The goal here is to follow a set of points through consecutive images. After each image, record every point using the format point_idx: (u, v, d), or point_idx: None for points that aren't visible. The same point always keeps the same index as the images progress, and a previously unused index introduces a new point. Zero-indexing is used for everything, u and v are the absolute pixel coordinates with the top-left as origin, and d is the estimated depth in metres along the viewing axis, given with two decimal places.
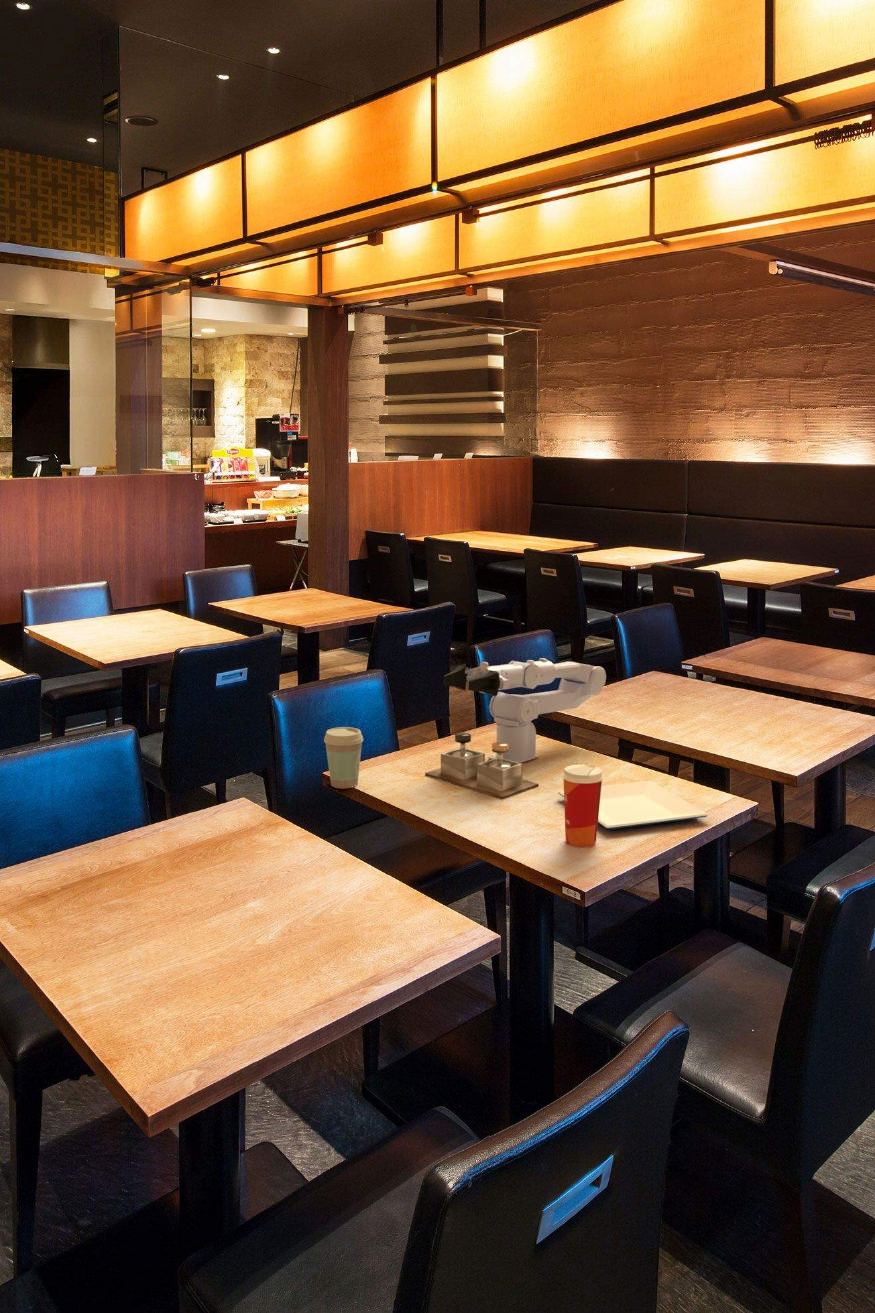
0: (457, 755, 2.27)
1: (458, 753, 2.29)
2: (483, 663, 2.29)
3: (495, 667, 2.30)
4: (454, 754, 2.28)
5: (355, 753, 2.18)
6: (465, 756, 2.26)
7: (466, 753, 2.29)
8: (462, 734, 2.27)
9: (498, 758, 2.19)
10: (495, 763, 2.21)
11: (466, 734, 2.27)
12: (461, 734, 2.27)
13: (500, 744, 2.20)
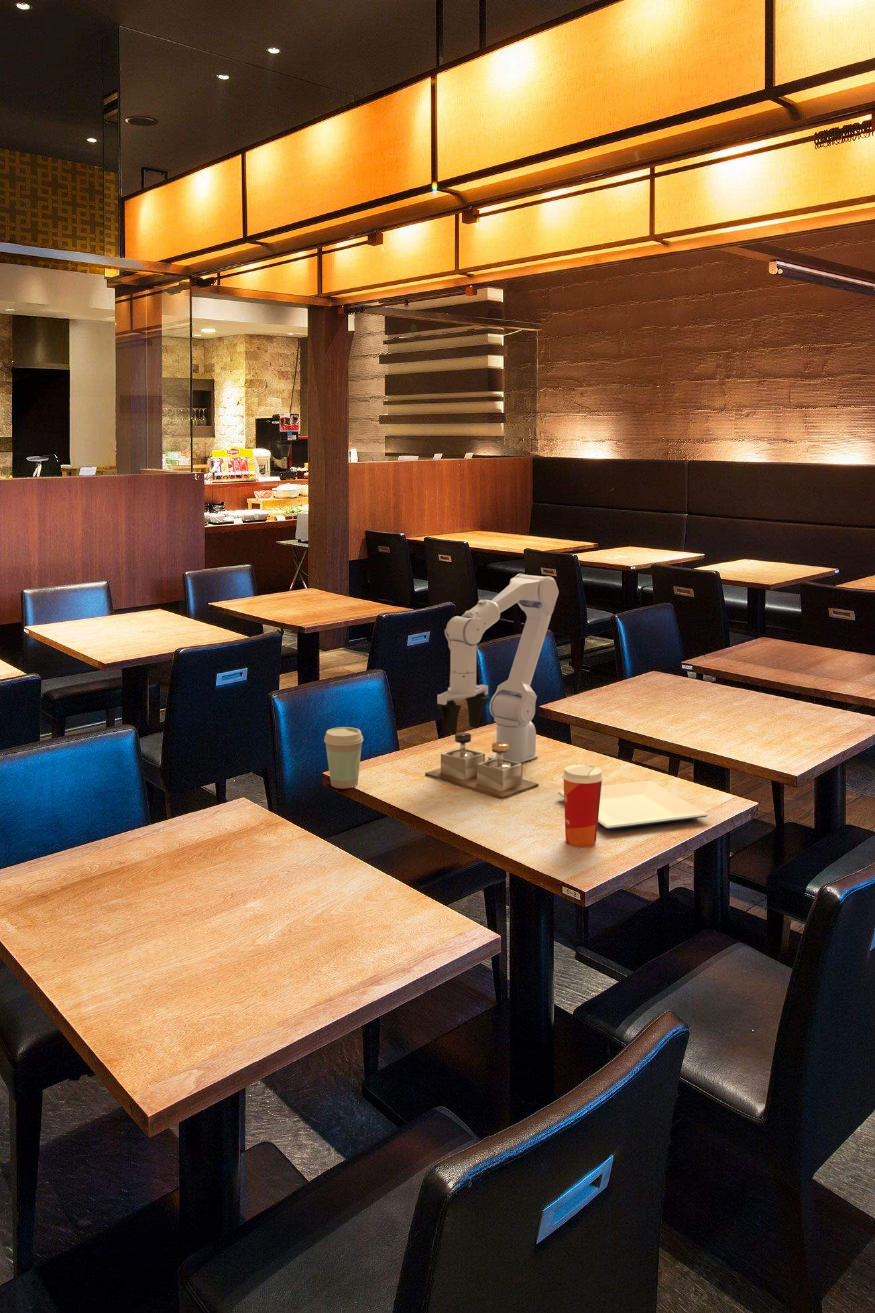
0: (457, 755, 2.27)
1: (458, 753, 2.29)
2: None
3: None
4: (454, 754, 2.28)
5: (355, 753, 2.18)
6: (465, 756, 2.26)
7: (466, 753, 2.29)
8: (462, 734, 2.27)
9: (498, 758, 2.19)
10: (495, 763, 2.21)
11: (466, 734, 2.27)
12: (461, 734, 2.27)
13: (500, 744, 2.20)
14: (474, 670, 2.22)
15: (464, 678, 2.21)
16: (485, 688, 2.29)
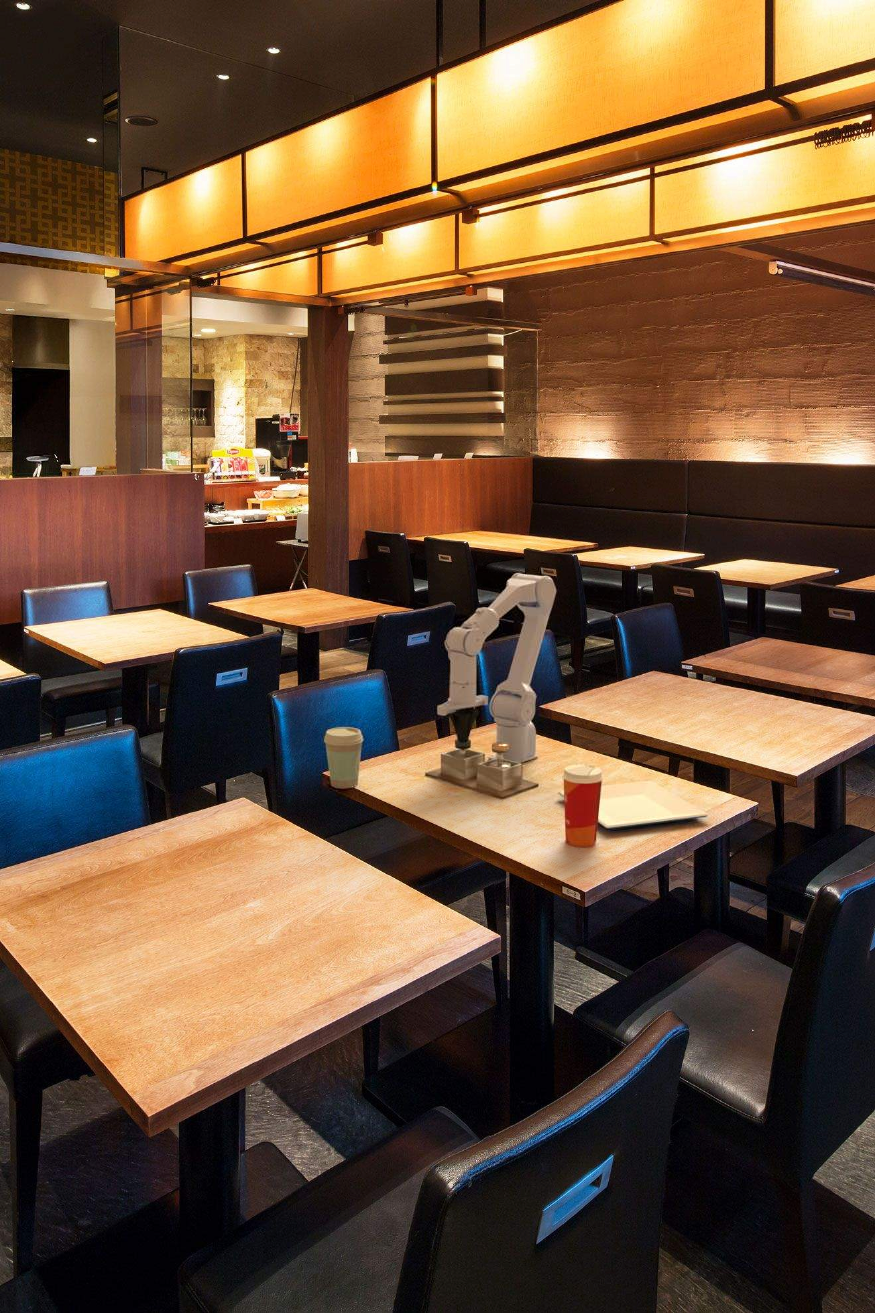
0: None
1: None
2: None
3: None
4: None
5: (355, 753, 2.18)
6: None
7: None
8: None
9: (498, 758, 2.19)
10: (495, 763, 2.21)
11: None
12: None
13: (500, 744, 2.20)
14: (474, 681, 2.23)
15: (464, 689, 2.22)
16: (485, 699, 2.29)
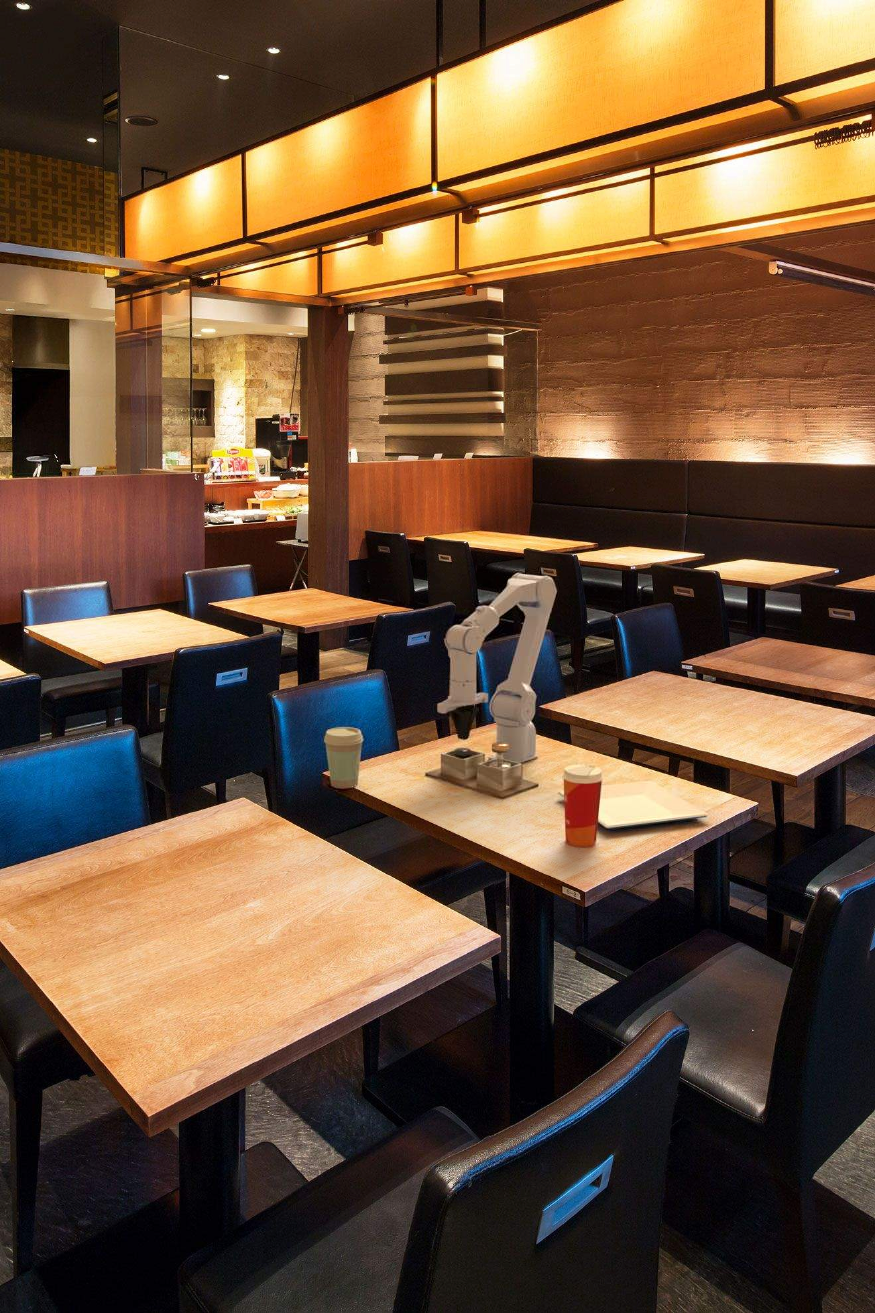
0: None
1: None
2: None
3: None
4: None
5: (355, 753, 2.18)
6: None
7: None
8: (462, 749, 2.28)
9: (498, 758, 2.19)
10: (495, 763, 2.21)
11: (466, 749, 2.28)
12: (461, 749, 2.28)
13: (500, 744, 2.20)
14: (474, 678, 2.23)
15: (464, 687, 2.22)
16: (485, 696, 2.29)
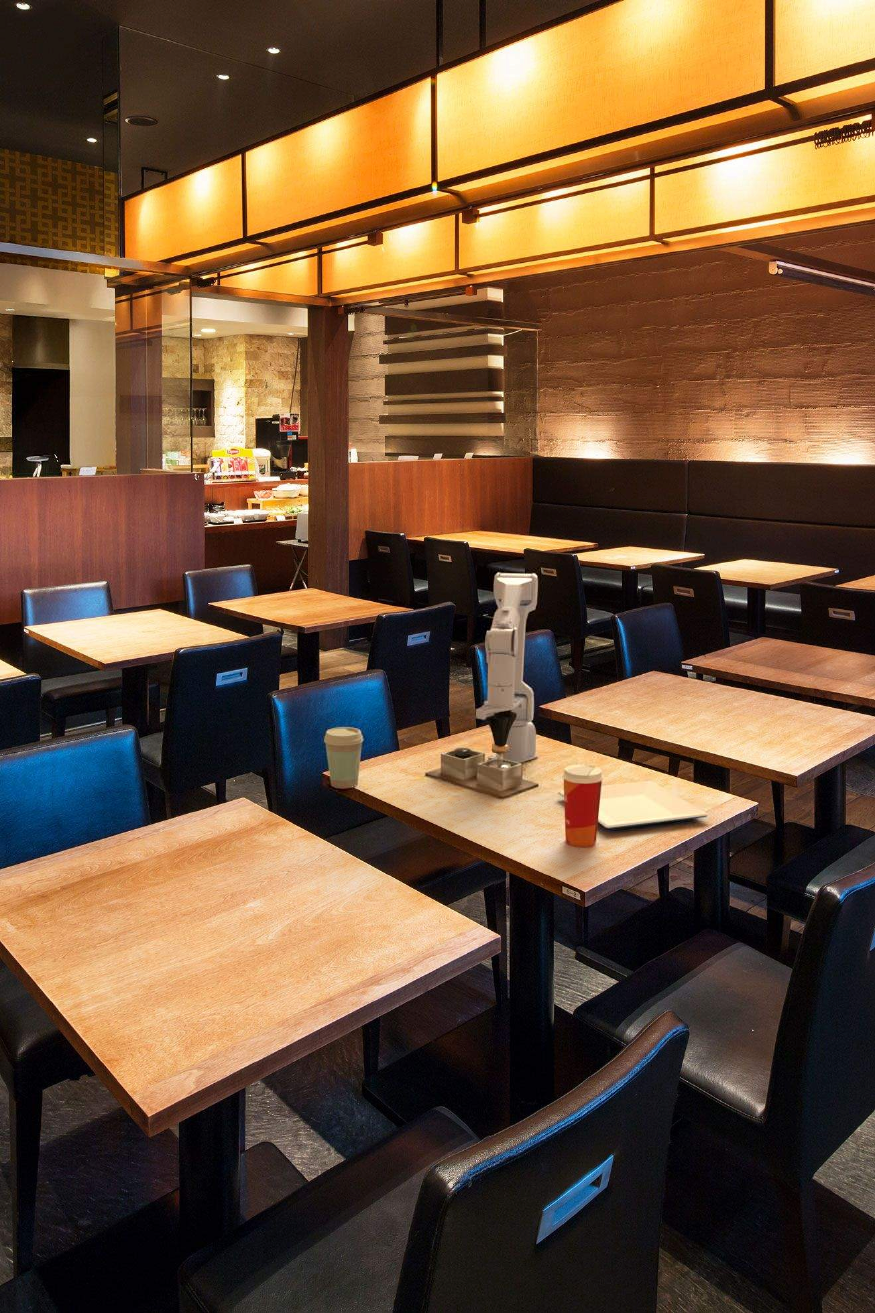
0: None
1: None
2: None
3: None
4: None
5: (355, 753, 2.18)
6: None
7: None
8: (462, 749, 2.28)
9: (498, 759, 2.19)
10: (495, 764, 2.21)
11: (466, 749, 2.28)
12: (461, 749, 2.28)
13: None
14: (514, 681, 2.17)
15: (503, 691, 2.14)
16: (522, 701, 2.21)
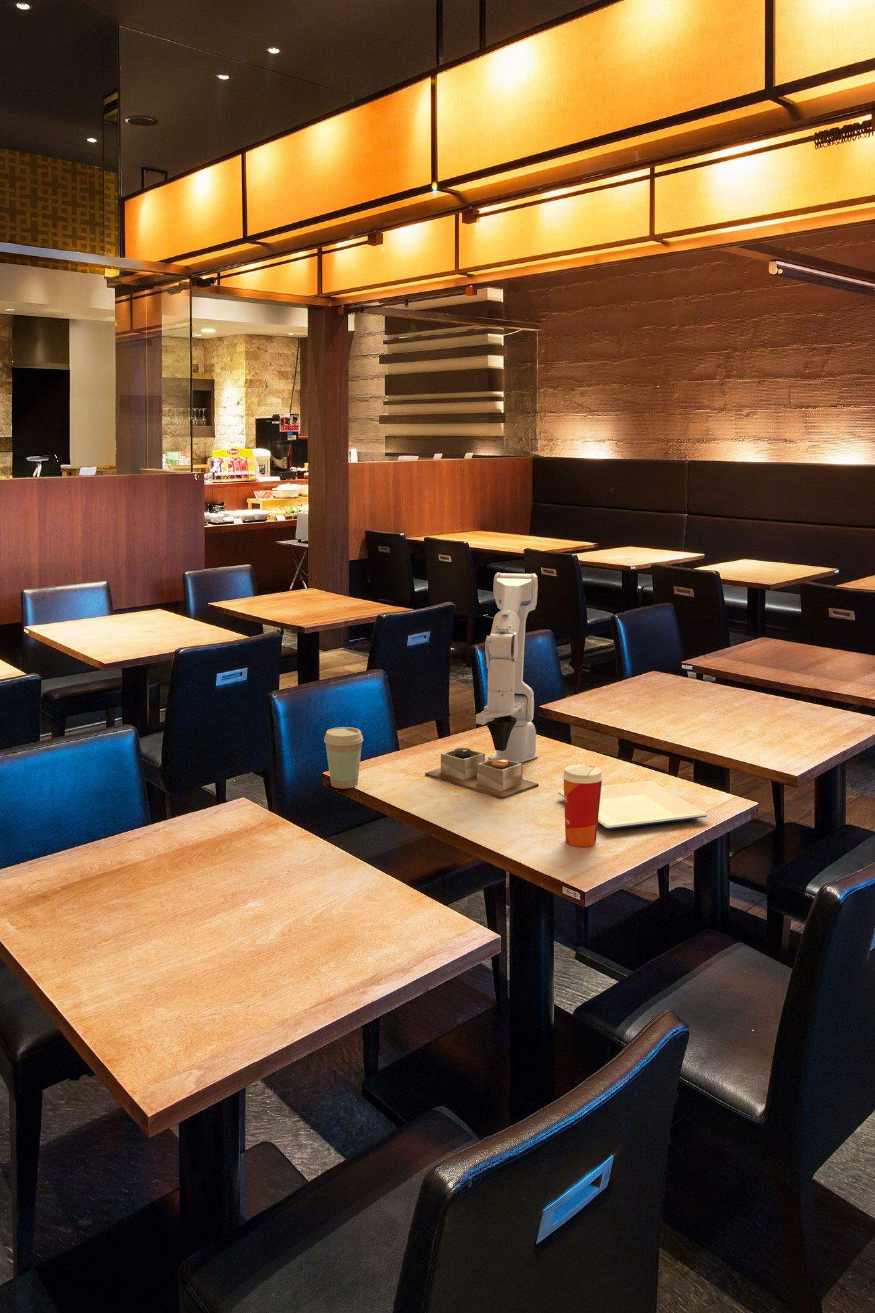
0: None
1: None
2: None
3: None
4: None
5: (355, 753, 2.18)
6: None
7: None
8: (462, 749, 2.28)
9: None
10: None
11: (466, 749, 2.28)
12: (461, 749, 2.28)
13: (499, 760, 2.20)
14: None
15: (503, 696, 2.14)
16: (522, 706, 2.22)
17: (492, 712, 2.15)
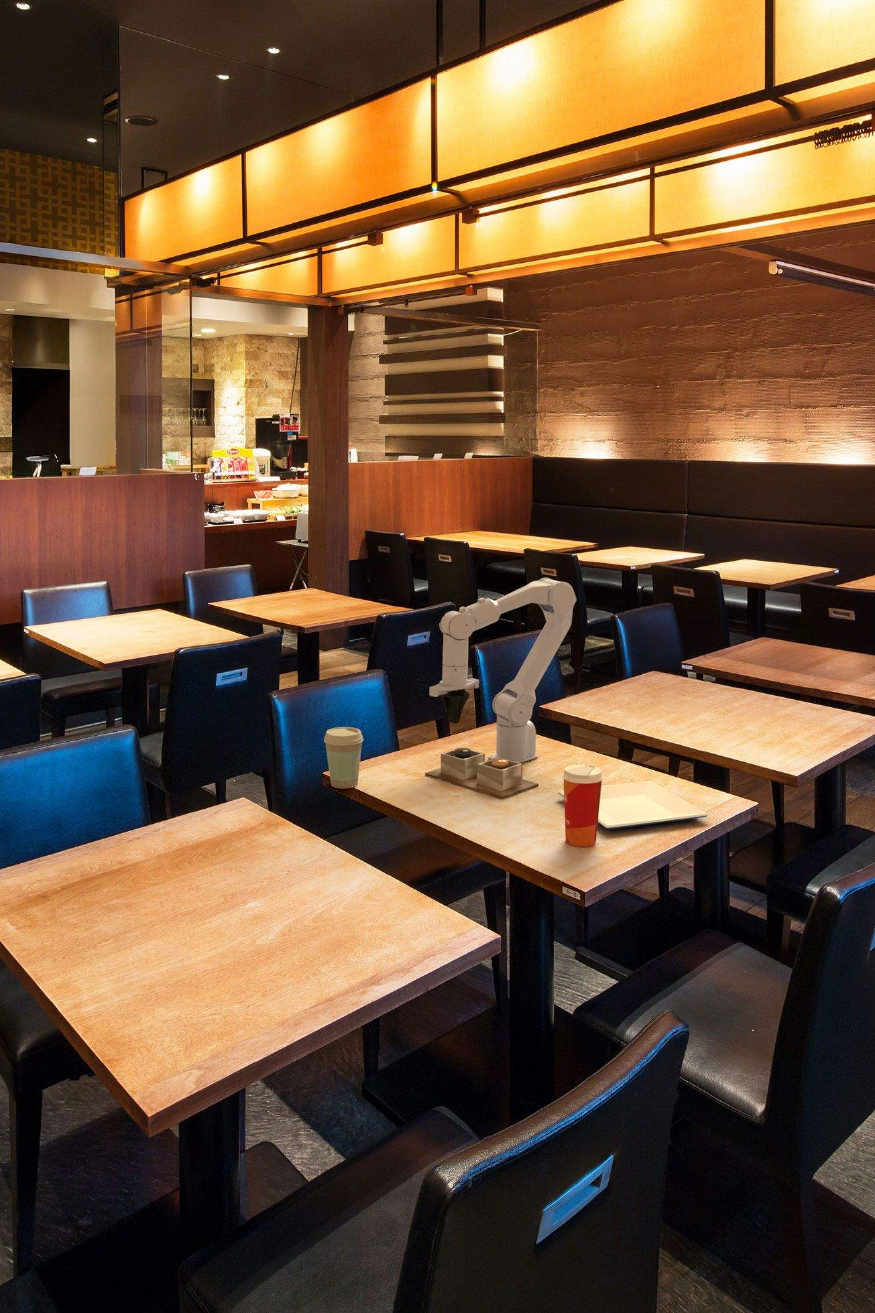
0: None
1: None
2: None
3: None
4: None
5: (355, 753, 2.18)
6: None
7: None
8: (462, 749, 2.28)
9: None
10: None
11: (466, 749, 2.28)
12: (461, 749, 2.28)
13: (499, 760, 2.20)
14: (462, 664, 2.28)
15: (456, 671, 2.28)
16: (476, 682, 2.35)
17: (445, 686, 2.29)
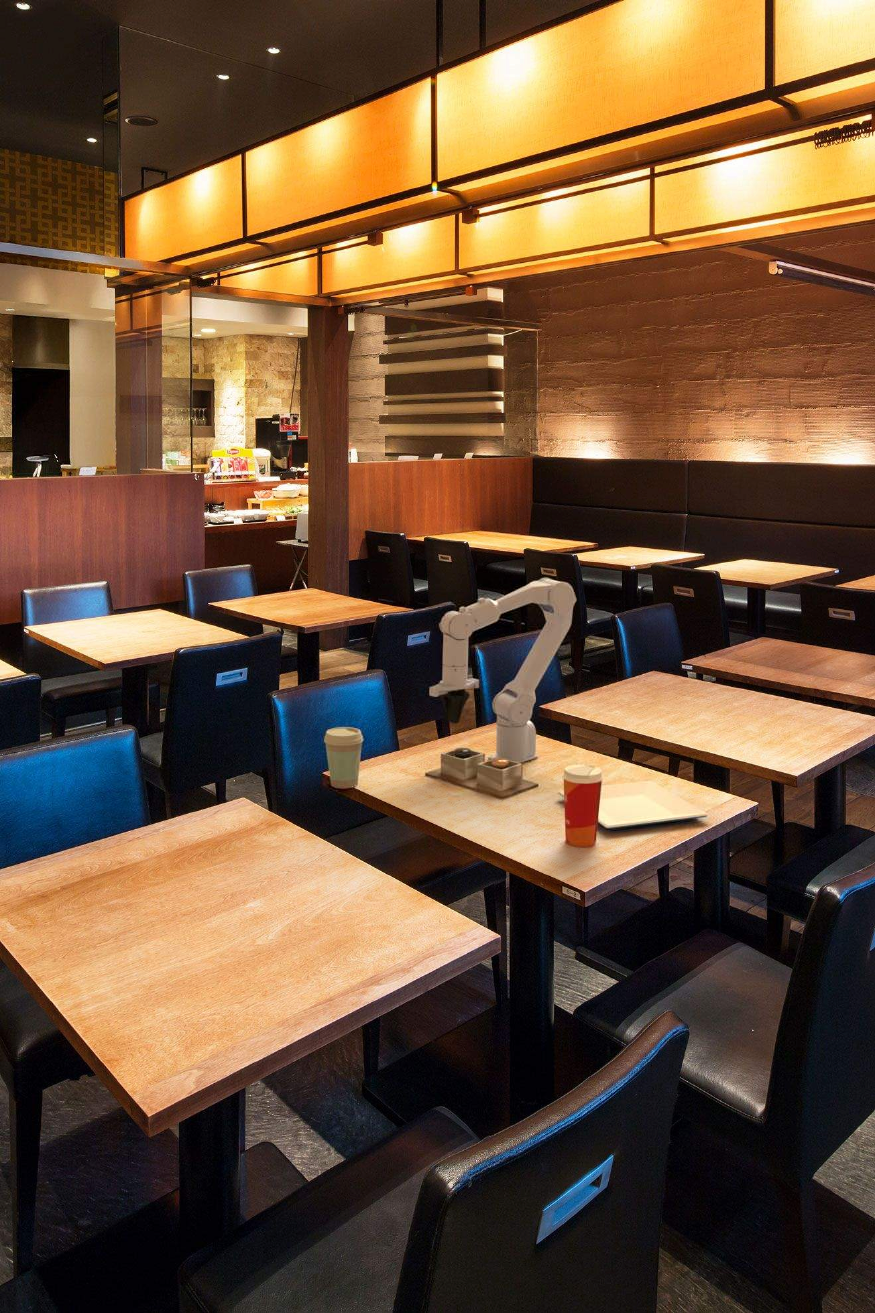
0: None
1: None
2: None
3: None
4: None
5: (355, 753, 2.18)
6: None
7: None
8: (462, 749, 2.28)
9: None
10: None
11: (466, 749, 2.28)
12: (461, 749, 2.28)
13: (499, 760, 2.20)
14: (462, 664, 2.28)
15: (456, 671, 2.28)
16: (476, 682, 2.35)
17: (445, 686, 2.29)
